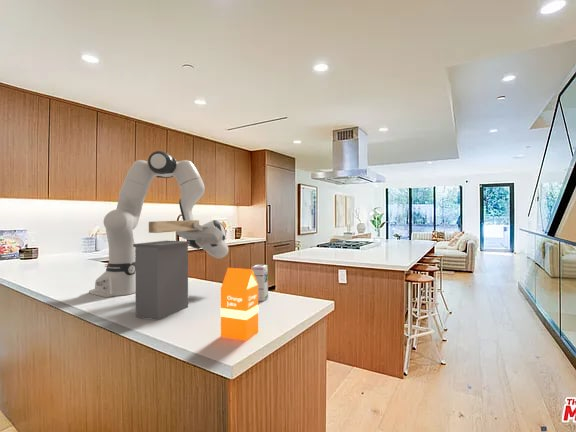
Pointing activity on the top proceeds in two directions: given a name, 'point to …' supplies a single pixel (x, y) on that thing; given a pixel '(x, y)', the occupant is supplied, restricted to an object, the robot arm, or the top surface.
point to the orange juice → (239, 304)
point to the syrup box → (261, 281)
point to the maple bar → (171, 226)
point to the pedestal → (161, 278)
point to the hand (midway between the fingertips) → (188, 224)
